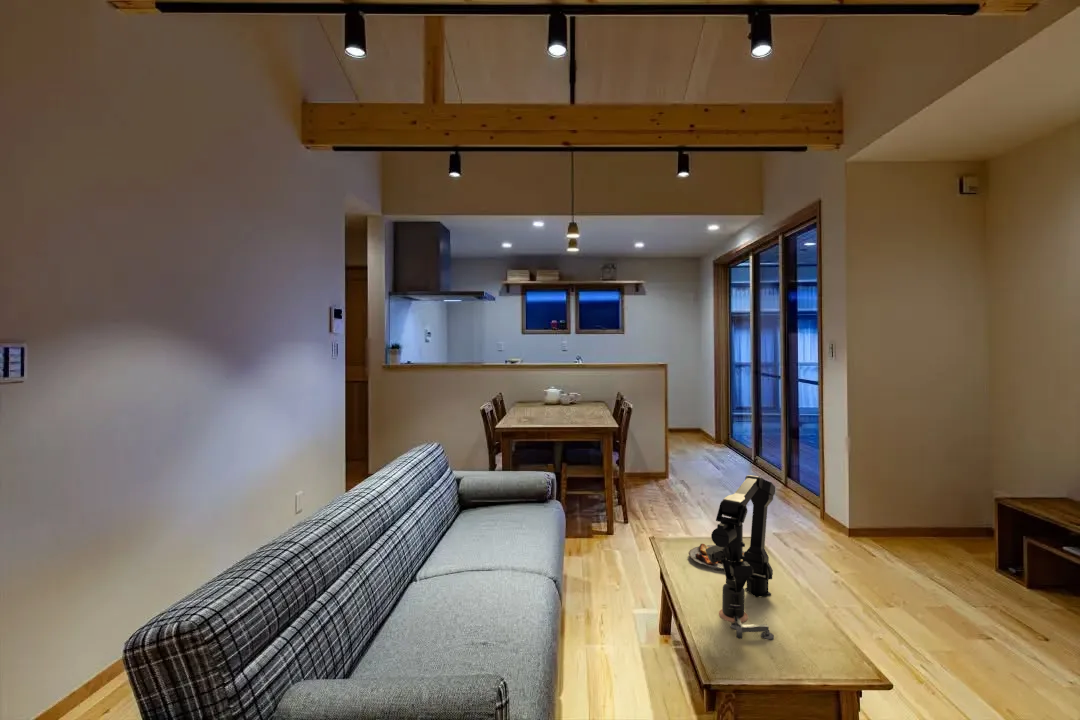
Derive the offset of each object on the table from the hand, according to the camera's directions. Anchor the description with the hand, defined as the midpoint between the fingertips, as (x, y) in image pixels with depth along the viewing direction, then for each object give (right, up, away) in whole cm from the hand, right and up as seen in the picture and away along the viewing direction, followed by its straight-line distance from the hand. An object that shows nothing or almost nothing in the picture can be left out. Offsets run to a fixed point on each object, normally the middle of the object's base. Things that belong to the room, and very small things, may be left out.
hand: (733, 585), depth 181 cm
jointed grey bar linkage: (+1, -10, -10) cm, 14 cm away
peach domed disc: (0, -10, 0) cm, 10 cm away
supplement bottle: (0, -10, +1) cm, 10 cm away
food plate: (+11, -9, +46) cm, 48 cm away
